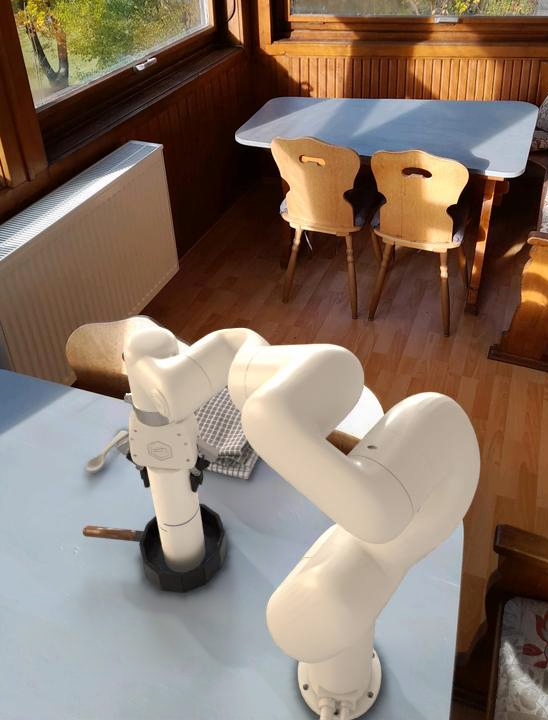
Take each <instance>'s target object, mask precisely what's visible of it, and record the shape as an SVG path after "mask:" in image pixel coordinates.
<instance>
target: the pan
mask: <svg viewBox="0 0 548 720" xmlns="http://www.w3.org/2000/svg"><path fill="white" fill-rule="evenodd" d="M199 507H200V514H201V521H202V528H203V535H204V537H206V538H208V541H209V544H210V548H211V552H210V556H209V558H208V559H207V560H206V561H205V562H204V563H203V564H202V565H201V566H197V567H196V568H195V569H193V570H190V571H188V572H181V573H178V572H167V571H164V570H163V569H162V568H161V565H160V561H159V558H158V557H159V554H160V551H161V549H162V543H161V538H160V533H159V527H158V522H157V517H156V515H154V516H153V518H151V519H150V520H149V521H148V522H147V523H146V524H145V527H144V529H143V530H138V529H137V530H136V529H127V528H117V527H108V526H99V525H98V526H97V525H85V526H84V527H83V529H82V535H83V536H84V537H88V538H97V539H106V540H116V541H126V542H134V543H139V544H138V546H139V550H140V554H141V560H142V564H143V567H144V572H145V573H144V574H145V577H146V579H148V580H149V581H150V582H151V583H152V584H153V585H154V586H156V587H157V588H158V589H159V590H160V591H163V592H171V593H179V594H181V593H182V594H185V593H189V592H190V591H193V590H195V589H198V588H200V587H203V586H205V585H206V584H208V583H209V582H210V581H211V580H212V578H213V577H215V576H216V574H217V573H218V572H219V571H220V570H221V569H222V567H223V564H224V560H225V556H226V554H227V553H226V552H227V549H228V548H227V537H226V530H225V528H224V527H225V526H224V524H223V521H222V519H221V516H220V514H219V513H217V512H216V511H215V510H213V509H212V508H210V507H209V506H208V505H206V504H204V503H199Z"/></svg>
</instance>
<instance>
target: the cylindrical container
mask: <svg viewBox="0 0 548 720" xmlns="http://www.w3.org/2000/svg"><path fill="white" fill-rule="evenodd" d="M147 471H148V476H149V482H150V487H149V488H150V491H151V496H152V501H153V507H154V511H155V512H154V513H155V516H156V517H157V522H158V527H159V533H160V538H161V543H162V546H161V549H162V553H163V559H164V562H165V564H166V566H167V568H169V569H170V570H171V571H173V572H175V573H185V572H188V571H190V570H193V569H195V568H198V567H199V566H200V565H201V563H202V562H203V561H204V559H205V557H206V553H207V552H206V551H207V550H206V544H205V535H204V534H203V528H202V521H201V514H200V507H199V504H200V500H199V494H198V491H197V492H193V491H192V489H191V482H190V474H191V471H190V470H189V469H187V470H180V469H167V468H156V467H147Z"/></svg>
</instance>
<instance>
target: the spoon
mask: <svg viewBox="0 0 548 720" xmlns="http://www.w3.org/2000/svg"><path fill="white" fill-rule="evenodd" d="M128 436H129V431H127V430H125V429H124V430H120V431H119V432H118V433H117V434H116V435H115V436H114V438H113V439H111V441H109V442H108V444H107V445H106V447H104V449H103V450H102V451H101V453H100V454H99V455H97V456H96V457H93V458H91V459H90V460H89V462H88V463H87V464H86V467H85V470H86V472H87V473H89V474H95V473H97V472H100V470H102V468H103V467H104V464H105V458H106V456H107V455H108V454H109V453H110V451H111V450H112V448H114V447H115V446H117V445H118V444H119V441H121V440H123V439H124V438H126V437H128Z"/></svg>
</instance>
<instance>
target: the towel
mask: <svg viewBox="0 0 548 720" xmlns="http://www.w3.org/2000/svg"><path fill="white" fill-rule="evenodd" d="M194 414H195V417H196V420H197V423H198V427H199V431H200V436H201V439H202V440H203V441H205V442H207V443H208V444H210V445H211V446H213V447H215V448H216V449H218V450H219V455H218V458H217V459H216V460H215V461H214V462H213V463H211V464H210V465H209V467H207V468H206V469H205V470H206V471H209V472H214V473H219V474H223V475H226V476H231V477H236V478H240V479H243V480H248V479H250V476H251V474H252V473H253V469H254V467H255V465H256V463H257V461H258V459H259V457H260V456H259V455H258V454H257V453H256V451H255V450H254V449H253V448H252V447H251V445H250V444H249V442H248V440H247V438H246V437H245V434H244V432H243V428H242V424H241V414H242V412H241V411H239V410H238V409H237V408H236V407H235V405H234V404H233V402H232V400H231V397H230V394H229V390H228V387H225V388H224V389H222V390H221V391H220V392H219V393H217V394H216V395H215V396H214V397H212V398H211V399H210V400H209V401H208V402H206V403H205V404H204V405H203V406H201V407H200V408H199V409H198V410H196V411H195V412H194ZM198 452H199V451H198ZM199 453H200V454H201V456H204V454H202V453H201V452H199Z"/></svg>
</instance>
